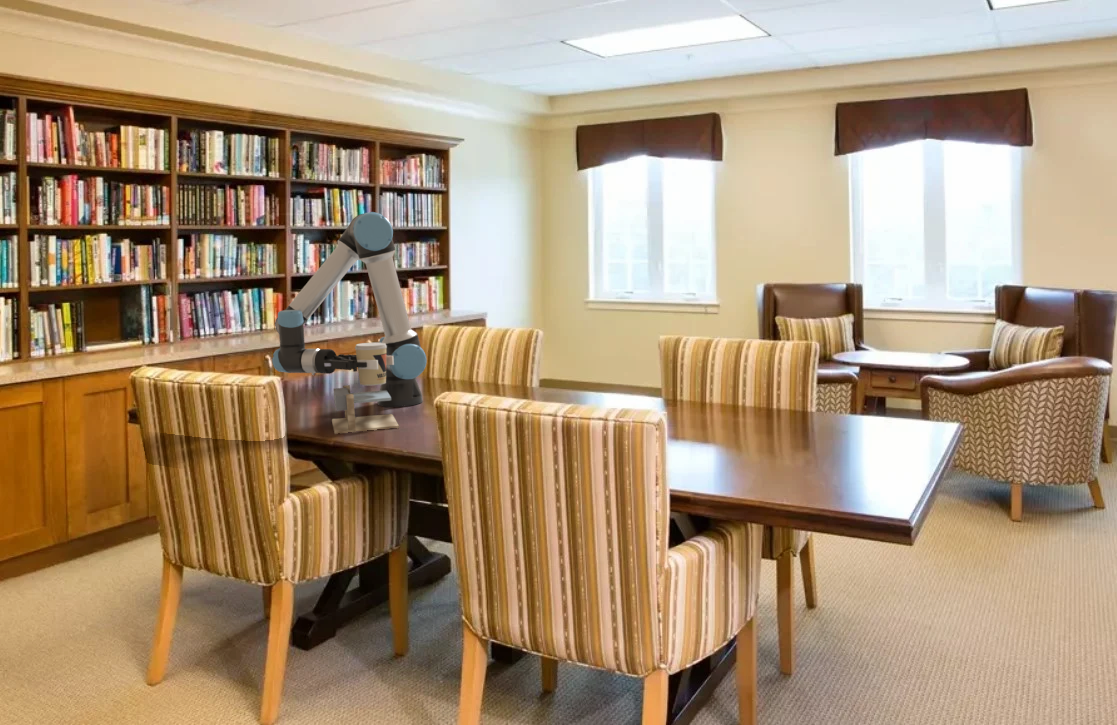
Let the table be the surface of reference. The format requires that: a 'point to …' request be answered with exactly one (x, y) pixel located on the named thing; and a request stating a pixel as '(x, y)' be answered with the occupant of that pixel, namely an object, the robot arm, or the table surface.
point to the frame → (361, 419)
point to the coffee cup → (372, 353)
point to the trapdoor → (358, 397)
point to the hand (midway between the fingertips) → (385, 362)
